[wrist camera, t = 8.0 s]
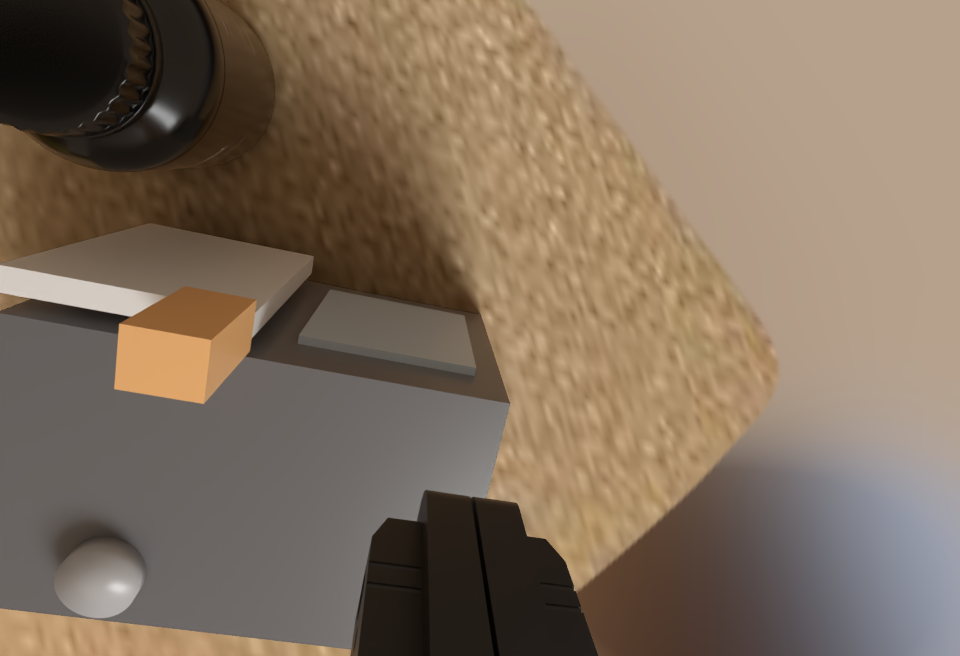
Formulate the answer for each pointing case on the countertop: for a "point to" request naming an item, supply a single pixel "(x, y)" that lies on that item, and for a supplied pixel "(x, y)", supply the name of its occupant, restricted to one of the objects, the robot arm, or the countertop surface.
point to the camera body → (235, 463)
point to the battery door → (167, 300)
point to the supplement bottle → (134, 81)
